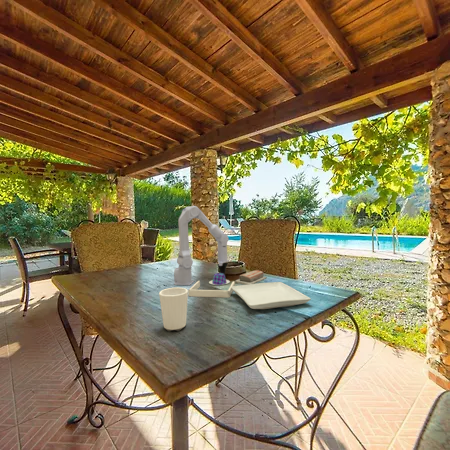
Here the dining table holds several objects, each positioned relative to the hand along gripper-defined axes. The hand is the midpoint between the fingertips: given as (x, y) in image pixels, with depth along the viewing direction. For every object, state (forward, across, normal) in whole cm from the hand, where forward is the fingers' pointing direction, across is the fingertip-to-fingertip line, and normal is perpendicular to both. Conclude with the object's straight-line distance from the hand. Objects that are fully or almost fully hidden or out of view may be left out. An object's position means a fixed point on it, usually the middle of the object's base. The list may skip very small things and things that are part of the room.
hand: (223, 275), depth 158 cm
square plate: (+2, -38, -27) cm, 47 cm away
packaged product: (+2, -5, -18) cm, 19 cm away
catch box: (+1, -28, 0) cm, 28 cm away
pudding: (+2, -12, 0) cm, 12 cm away
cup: (+2, -70, +4) cm, 70 cm away
